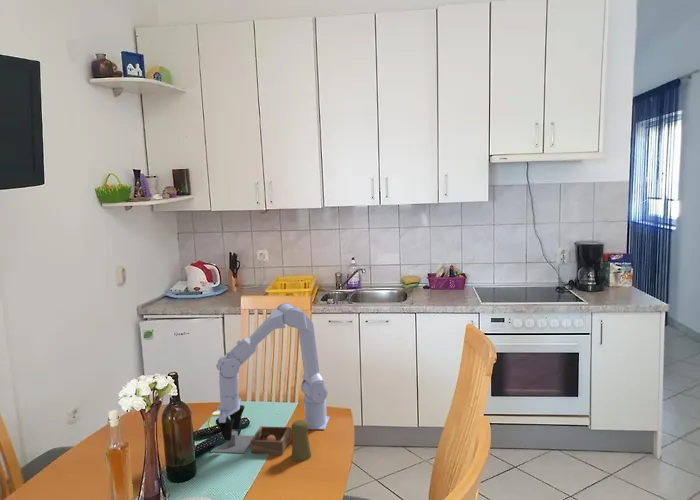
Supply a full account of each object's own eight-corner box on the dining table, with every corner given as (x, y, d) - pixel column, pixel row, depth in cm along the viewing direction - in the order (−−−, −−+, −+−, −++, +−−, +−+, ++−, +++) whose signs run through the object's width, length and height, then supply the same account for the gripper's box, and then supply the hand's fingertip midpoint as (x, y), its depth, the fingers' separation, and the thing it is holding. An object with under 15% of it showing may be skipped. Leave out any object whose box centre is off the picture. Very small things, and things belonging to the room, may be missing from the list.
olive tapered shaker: (308, 461, 158) (306, 426, 156) (288, 460, 159) (287, 425, 158) (313, 451, 164) (312, 418, 162) (294, 450, 165) (293, 416, 164)
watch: (208, 432, 179) (206, 416, 178) (209, 428, 182) (207, 412, 181) (226, 429, 180) (224, 413, 179) (227, 426, 183) (225, 409, 182)
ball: (268, 441, 170) (267, 432, 169) (277, 442, 169) (276, 433, 169) (265, 446, 167) (264, 437, 166) (274, 446, 166) (274, 437, 166)
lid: (223, 437, 176) (222, 424, 176) (254, 438, 175) (254, 425, 174) (209, 454, 165) (209, 440, 165) (243, 455, 164) (242, 442, 163)
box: (261, 437, 174) (260, 426, 173) (290, 439, 172) (290, 427, 172) (251, 453, 164) (250, 441, 163) (282, 454, 162) (282, 442, 162)
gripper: (225, 384, 175) (228, 423, 177) (208, 402, 161) (210, 444, 163) (246, 385, 174) (248, 424, 176) (230, 403, 160) (232, 445, 162)
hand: (231, 434), depth 169 cm, fingers open, 7 cm apart
